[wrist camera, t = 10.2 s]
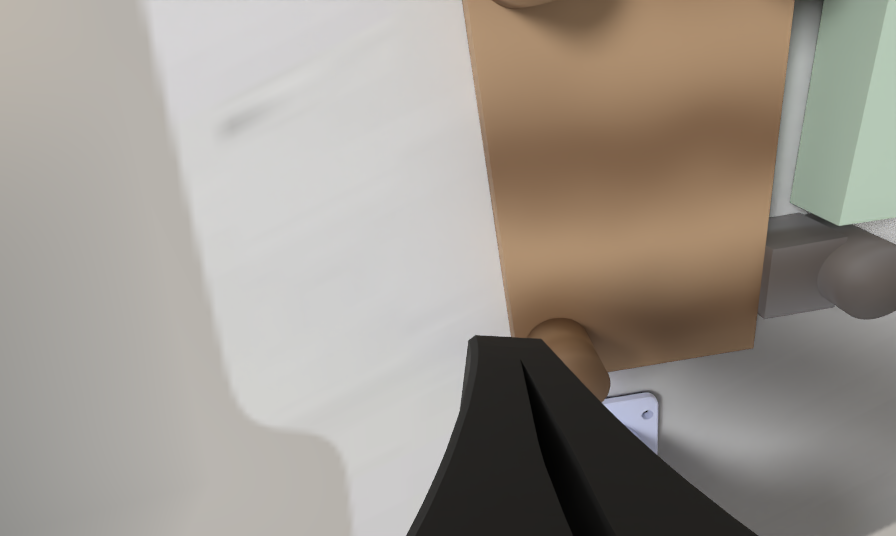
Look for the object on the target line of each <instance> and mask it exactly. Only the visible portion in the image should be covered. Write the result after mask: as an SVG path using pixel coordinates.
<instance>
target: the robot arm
mask: <svg viewBox="0 0 896 536" xmlns="http://www.w3.org/2000/svg"><path fill="white" fill-rule="evenodd" d="M647 410H649V411H648V412H646V413H643V412H645V411H647ZM406 536H758V535H756V534H755V533H754V532H752V531H751V530H750V529H748V528H747V527H746V526H744V525H743V524H742V523H740V522H739V521H738V520H736V519H735V518H734V517H732V516H731V515H730V514H728V513H727V512H726V511H724V510H723V509H722V508H721V507H719V506H718V505H717V504H716V503H714V502H713V501H712V500H711V499H709V498H708V497H707V496H706V495H704V494H703V493H702V492H701V491H699V490H698V489H697V488H695V487H694V486H693V485H692V484H690V483H689V482H688V481H687V480H685V479H684V478H683V477H682V476H681V475H679V474H678V473H677V472H676V471H675V470H674V469H672V468H671V467H670V466H669V465H668V464H667V463H665V462H664V461H663V460H662V459H661V458H660V457H659V456H658V401H657V399H656V398H655V396H654V395H653V394H651V393H639V394H633V395H627V396H621V397H614V398H608V399H605V400H604V401H603V402H601V401H600V400H599V399H598V398H597V397H596V396H595V395H594V394H593V393H592V392H591V391H590V390H589V389H588V388H587V387H586V386H585V385H584V384H583V383H582V382H581V381H580V380H579V379H578V378H577V376H576V375H575V374H574V373H573V372H572V371H571V370H570V369H569V368H568V367H567V366H566V365H565V364H564V362H563V361H562V360H561V359H560V358H559V357H558V356H557V355H556V354H555V353H554V352H553V351H552V349H551V348H550V347H549V346H548V345H547V344H546V343H545V342H544V341H543V340H542V339H537V338H518V337H498V336H478V335H475V336H474V337H473V338H471V339H470V340H469V341H468V349H467V357H466V366H465V374H464V382H463V390H462V398H461V406H460V412H459V415H458V418H457V421H456V424H455V427H454V430H453V432H452V435H451V438H450V441H449V444H448V446H447V449H446V452H445V454H444V457H443V459H442V462H441V464H440V466H439V469H438V471H437V473H436V476H435V478H434V480H433V482H432V485H431V487H430V489H429V491H428V493H427V495H426V498H425V500H424V502H423V504H422V506H421V508H420V510H419V512H418V514H417V516H416V518H415V520H414V522H413V524H412V525H411V527H410V529H409V531H408V533H407V535H406Z"/></svg>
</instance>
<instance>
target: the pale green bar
mask: <svg viewBox="0 0 896 536" xmlns="http://www.w3.org/2000/svg"><path fill="white" fill-rule="evenodd" d="M790 203H792V204H794V205H796V206H798V207H800V208H802V209H804V210H807V211H809V212H811V213H813V214H815V215H817V216H819V217H821V218H823V219H825V220H827V221H829V222H832V223H834V224H836V225H838V226H842V225H849V224H855V223H862V222H869V221H876V220H882V219H889V218H896V0H824V3H823V9H822V15H821V21H820V27H819V33H818V39H817V45H816V51H815V57H814V63H813V69H812V75H811V81H810V87H809V92H808V98H807V104H806V110H805V116H804V122H803V128H802V134H801V140H800V146H799V152H798V158H797V164H796V170H795V175H794V181H793V187H792V193H791V199H790Z"/></svg>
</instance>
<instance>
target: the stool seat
mask: <svg viewBox="0 0 896 536" xmlns="http://www.w3.org/2000/svg"><path fill="white" fill-rule="evenodd" d="M794 1H795V0H462V3H463V10H464V17H465V24H466V31H467V37H468V44H469V51H470V58H471V65H472V72H473V78H474V85H475V92H476V99H477V106H478V113H479V120H480V126H481V133H482V140H483V147H484V154H485V161H486V167H487V174H488V181H489V188H490V195H491V202H492V209H493V215H494V222H495V229H496V236H497V243H498V250H499V256H500V263H501V270H502V277H503V284H504V291H505V298H506V304H507V311H508V318H509V325H510V332H511V337H518V338H537V339H542V340H543V341H544V342H545V343H546V344H547V345H548V346H549V347H550V348H551V349H552V351H553V352H554V353H555V354H556V355H557V356H558V357H559V358H560V359H561V360H562V361H563V362H564V364H565V365H566V366H567V367H568V368H569V369H570V370H571V371H572V372H573V373H574V374H575V375H576V376H577V378H578V379H579V380H580V381H581V382H582V383H583V384H584V385H585V386H586V387H587V388H588V389H589V390H590V391H591V392H592V393H593V394H594V395H595V396H596V397H597V398H598V399H599V400H600V401H601V402H603V401H604V400H605V398H606V397H607V395H608V393H609V390H610V378H609V375H608V373H607V372H612V371H618V370H624V369H630V368H636V367H642V366H648V365H654V364H660V363H666V362H672V361H678V360H684V359H690V358H697V357H703V356H709V355H715V354H721V353H727V352H733V351H739V350H745V349H751V348H753V347H754V338H755V330H756V321H757V313H758V314H759V315H760V316H761V317H762V318H764V319H767V318H773V317H779V316H785V315H791V314H797V313H802V312H808V311H814V310H820V309H826V308H832V307H834V306H835V305H836V306H837V307H839V308H840V309H842V310H843V311H845V312H846V313H848V314H849V315H851V316H853V317H855V318H858V319H875V318H879V317H882V316H885V315H888V314H890V313H892V312H894V311H895V310H896V245H895V244H893V243H891V242H889V241H887V240H885V239H882V238H880V237H878V236H876V235H874V234H872V233H869V232H867V231H865V230H863V229H861V228H859V227H856V226H854V225H852V224H849V225H842V226H838V225H836V224H834V223H832V222H829V221H827V220H825V219H823V218H821V217H819V216H817V215H815V214H813V213H810V214H806V215H803V214H801V213H795V214H789V215H784V216H778V217H772V218H769V212H770V204H771V195H772V187H773V178H774V170H775V161H776V153H777V145H778V136H779V128H780V119H781V111H782V103H783V94H784V86H785V77H786V69H787V60H788V52H789V44H790V35H791V27H792V18H793V10H794Z"/></svg>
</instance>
